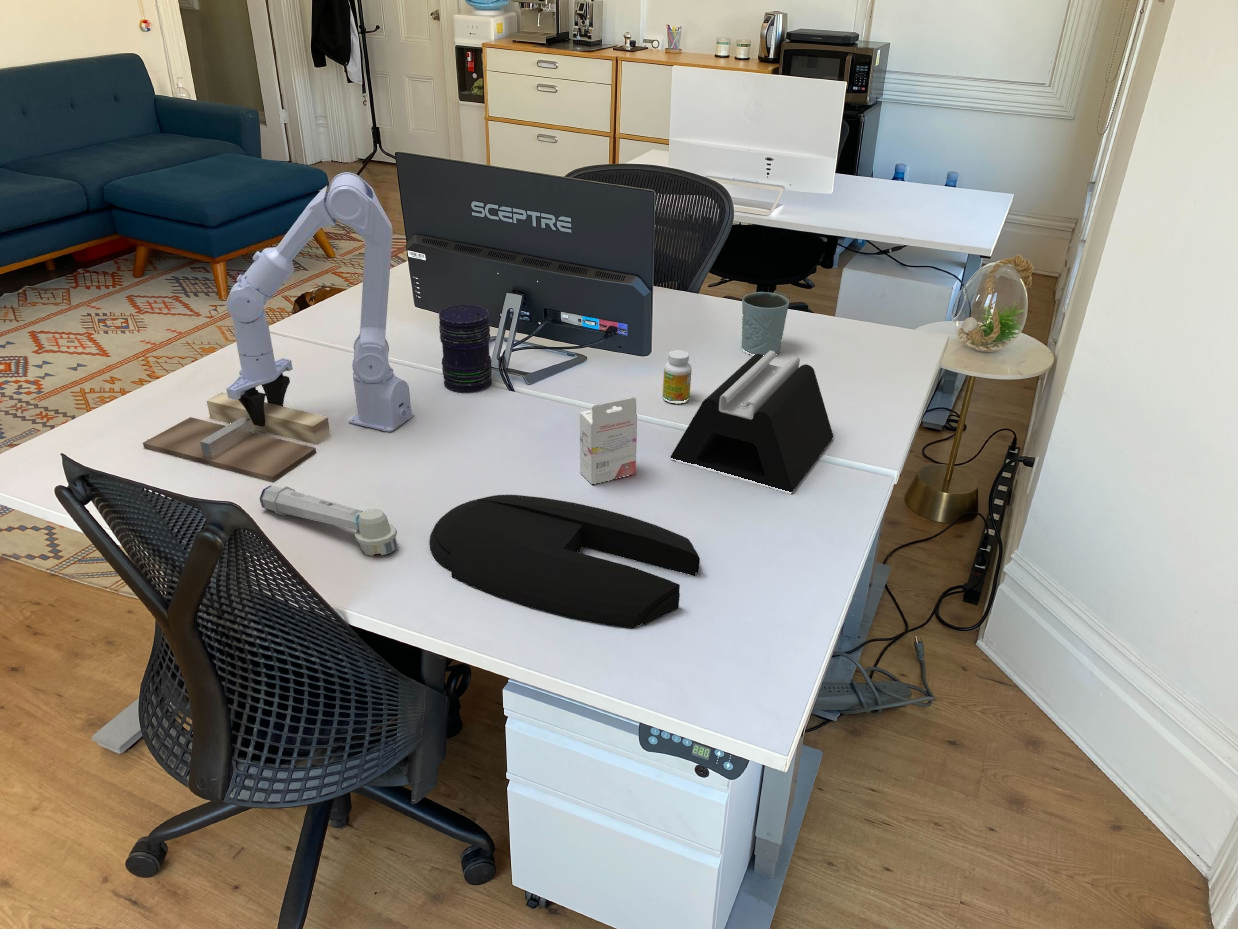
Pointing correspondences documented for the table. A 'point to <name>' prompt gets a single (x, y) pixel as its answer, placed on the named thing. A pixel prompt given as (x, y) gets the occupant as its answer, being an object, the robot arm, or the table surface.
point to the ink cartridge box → (608, 441)
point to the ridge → (226, 438)
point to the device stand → (760, 424)
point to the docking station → (563, 558)
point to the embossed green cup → (763, 322)
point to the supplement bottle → (677, 376)
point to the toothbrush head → (334, 517)
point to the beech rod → (273, 419)
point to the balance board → (232, 450)
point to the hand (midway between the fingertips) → (268, 419)
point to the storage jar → (465, 348)
